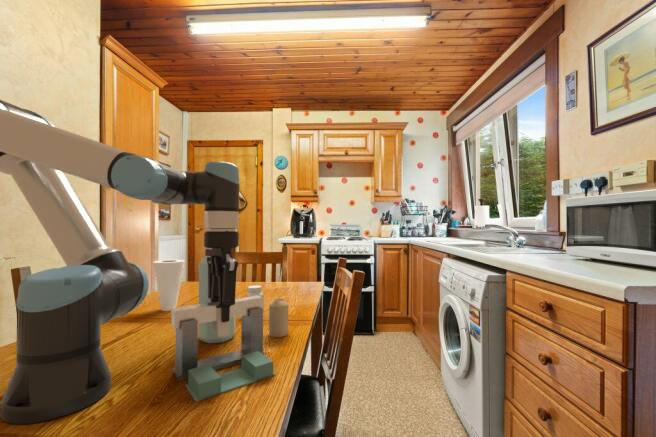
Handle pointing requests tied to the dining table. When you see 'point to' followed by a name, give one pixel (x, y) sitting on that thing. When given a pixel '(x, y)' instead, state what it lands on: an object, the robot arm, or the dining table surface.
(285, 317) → the candle
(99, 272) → the robot arm
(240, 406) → the dining table surface
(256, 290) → the pill bottle
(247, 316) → the stand
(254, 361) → the rest
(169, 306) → the cup
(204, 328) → the water bottle
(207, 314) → the rail
